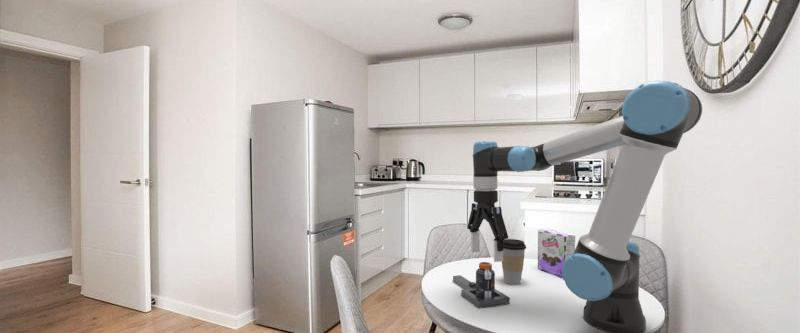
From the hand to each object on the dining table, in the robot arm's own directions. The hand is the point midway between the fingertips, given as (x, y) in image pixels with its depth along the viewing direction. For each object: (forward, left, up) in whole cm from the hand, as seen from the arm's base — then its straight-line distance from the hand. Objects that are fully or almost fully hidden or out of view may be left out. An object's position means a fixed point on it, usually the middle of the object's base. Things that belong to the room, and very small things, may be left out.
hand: (486, 256), depth 121 cm
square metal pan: (+7, 0, -14) cm, 16 cm away
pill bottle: (0, 0, -14) cm, 14 cm away
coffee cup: (+12, -19, -14) cm, 27 cm away
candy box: (+16, -42, -14) cm, 47 cm away
